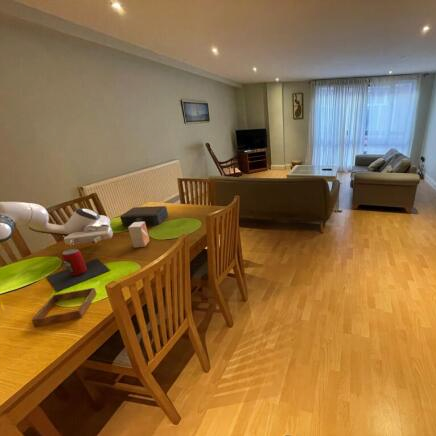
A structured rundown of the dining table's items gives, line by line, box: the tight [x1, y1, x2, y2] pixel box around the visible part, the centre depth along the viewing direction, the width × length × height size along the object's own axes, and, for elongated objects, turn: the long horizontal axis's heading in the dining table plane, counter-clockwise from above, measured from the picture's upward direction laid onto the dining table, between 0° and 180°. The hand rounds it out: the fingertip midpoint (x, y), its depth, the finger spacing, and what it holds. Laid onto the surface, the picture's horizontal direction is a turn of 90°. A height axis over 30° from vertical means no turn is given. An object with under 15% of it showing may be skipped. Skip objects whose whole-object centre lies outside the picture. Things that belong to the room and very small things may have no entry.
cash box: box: [120, 205, 169, 227], centre depth 176 cm, size 25×20×8 cm
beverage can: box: [61, 248, 87, 276], centre depth 114 cm, size 7×7×12 cm
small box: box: [127, 222, 150, 248], centre depth 141 cm, size 8×6×13 cm
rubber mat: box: [46, 258, 111, 293], centre depth 116 cm, size 20×18×1 cm
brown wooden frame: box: [31, 287, 98, 328], centre depth 94 cm, size 14×14×3 cm
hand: (82, 243), depth 122 cm, fingers open, 8 cm apart
